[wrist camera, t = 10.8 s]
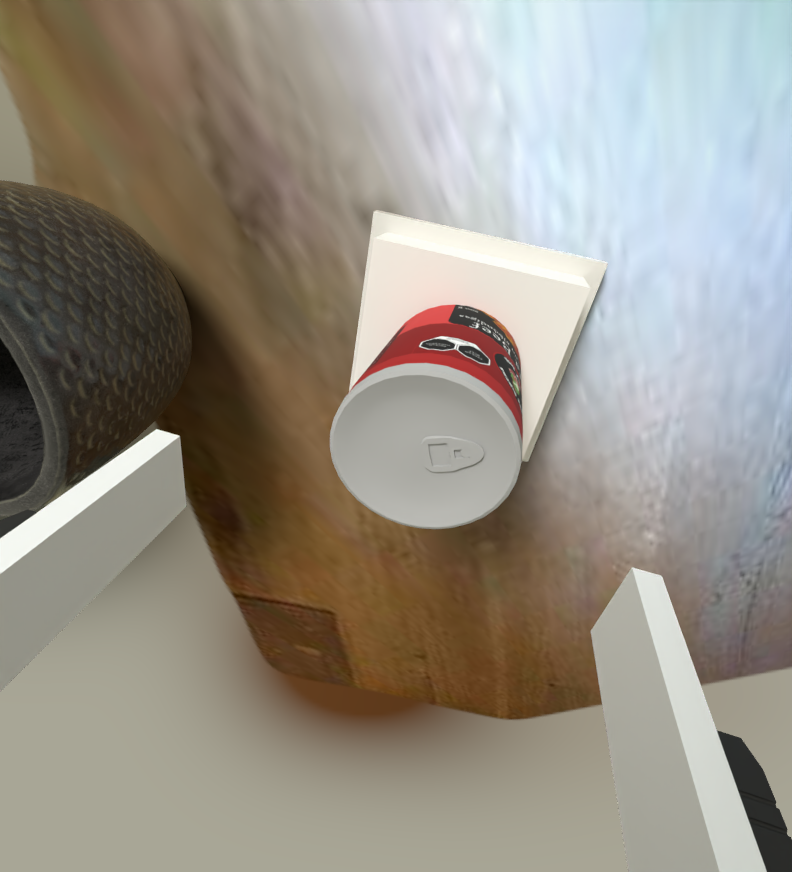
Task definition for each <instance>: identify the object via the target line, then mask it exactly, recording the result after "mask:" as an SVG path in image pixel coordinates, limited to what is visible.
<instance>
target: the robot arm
mask: <svg viewBox="0 0 792 872" xmlns="http://www.w3.org/2000/svg"><path fill="white" fill-rule="evenodd" d="M186 507H187V505H186V494H185V484H184V473H183V463H182V452H181V442H180V436H178V435H175V434H172V433H168V432H165V431H161V430H158V429H156V430H155V431H153V432H152V433H150V434H149V435H147V436H146V437H145V438H143V439H142V440H140V441H139V442H137V443H136V444H135V445H133V446H132V447H130V448H129V449H128V450H126V451H125V452H123V453H122V454H120V455H119V456H118V457H116V458H115V459H113V460H112V461H110V462H109V463H107V464H106V465H105V466H103V467H102V468H100V469H99V470H97V471H96V472H95V473H93V474H92V475H90V476H89V477H87V478H86V479H85V480H83V481H82V482H80V483H79V484H78V485H76V486H75V487H73V488H72V489H70V490H69V491H67V492H66V493H65V494H64V495H62V496H60V497H59V498H58V499H56V500H55V501H53V502H52V503H50V504H49V505H47V506H46V507H45V508H43V509H42V510H40V511H39V512H35V511H32V510H29V509H27V510H25V511H22V512H20V513H17V514H15V515H12V516H10V517H7V518H5V519H2V520H0V692H1V691H2V690H3V689H4V688H5V687H6V686H7V685H8V684H9V683H10V682H11V681H12V679H14V678H15V677H16V676H17V675H18V674H19V673H20V672H21V671H22V670H23V668H25V667H26V666H27V665H28V664H29V663H30V662H31V661H32V660H33V659H34V658H35V657H36V656H37V655H38V654H39V653H40V652H41V651H42V650H43V649H44V648H45V647H46V646H47V645H48V644H49V643H50V642H51V641H52V640H53V639H54V638H55V637H56V636H57V635H58V634H59V633H60V632H61V631H62V630H63V629H64V628H65V627H66V626H67V625H68V624H69V623H70V622H71V621H72V620H73V619H74V618H75V617H76V616H77V615H78V614H79V613H80V612H81V611H82V610H83V609H84V608H85V607H86V606H87V605H88V604H89V603H90V602H91V601H92V600H93V599H94V598H95V597H96V596H97V595H98V594H99V593H100V592H101V591H102V590H103V589H104V588H105V587H106V586H107V585H108V584H109V583H110V582H111V581H112V580H113V579H114V578H115V577H116V576H117V575H118V574H119V573H120V572H121V571H122V570H123V569H124V568H125V567H126V566H127V565H128V564H129V563H130V562H131V561H132V560H133V559H134V558H135V557H136V556H137V555H138V554H139V553H140V552H141V551H142V550H143V549H144V548H145V547H146V546H147V545H148V544H149V543H150V542H151V541H152V540H153V539H154V538H155V537H156V536H157V535H158V534H159V533H160V532H161V531H162V530H163V529H164V528H165V527H166V526H167V525H168V524H169V523H170V522H172V521H173V520H174V519H175V518H176V516H178V514H179V513H181V512H182V510H184V509H185V508H186ZM591 636H592V643H593V649H594V655H595V662H596V668H597V674H598V681H599V687H600V694H601V700H602V706H603V712H604V719H605V725H606V732H607V738H608V744H609V751H610V758H611V763H612V770H613V777H614V783H615V789H616V796H617V802H618V809H619V815H620V821H621V827H622V834H623V841H624V847H625V853H626V859H627V866H628V872H792V839H791V837H789V836H788V835H787V827H786V825H785V822H784V820H783V817H782V815H781V813H780V810H779V809H778V808H776V805H775V804H776V800H775V798H774V795H773V793H772V791H771V788H770V786H769V783H768V781H767V778H766V776H765V774H764V771H763V769H762V768H761V766H760V765H759V763H758V762H757V761H756V759H755V758H754V756H753V755H752V753H751V752H750V751H749V749H748V748H747V746H746V745H745V743H744V742H743V740H742V739H741V738H739V737H735V736H733V735H729V734H726V733H723V732H720V731H717V730H716V727H715V725H714V722H713V719H712V716H711V713H710V710H709V708H708V705H707V702H706V699H705V696H704V693H703V691H702V688H701V685H700V682H699V679H698V677H697V674H696V671H695V668H694V665H693V663H692V660H691V657H690V654H689V651H688V648H687V646H686V643H685V640H684V637H683V634H682V632H681V629H680V626H679V623H678V620H677V617H676V615H675V612H674V609H673V606H672V603H671V601H670V598H669V595H668V592H667V589H666V587H665V584H664V581H663V578H662V576H660V575H657V574H653V573H650V572H646V571H643V570H640V569H636V568H633V567H632V568H631V570H630V571H629V573H628V574H627V576H626V577H625V579H624V580H623V582H622V584H621V585H620V587H619V588H618V590H617V591H616V593H615V594H614V596H613V597H612V599H611V601H610V602H609V604H608V605H607V607H606V608H605V610H604V611H603V613H602V614H601V616H600V618H599V619H598V621H597V622H596V624H595V625H594V627H593V628H592V630H591Z"/></svg>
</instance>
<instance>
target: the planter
mask: <svg viewBox="0 0 792 872" xmlns="http://www.w3.org/2000/svg"><path fill="white" fill-rule="evenodd" d="M191 354H192V330H191V321H190V317H189V313H188V308H187V305H186V301H185V298H184V295H183V293H182V290H181V288H180V286H179V284H178V282H177V280H176V279H175V277H174V276H173V274H172V273H171V271H170V270H169V268H168V267H167V265H166V264H165V262H164V261H163V260H162V259H161V257H160V256H159V255H158V254H157V253H156V252H155V250H154V249H153V248H152V247H151V246H150V245H149V244H148V243H147V242H146V241H145V240H144V239H143V238H142V237H141V236H140V235H139V234H138V233H137V232H136V231H134V230H133V229H132V228H131V227H129V226H128V225H127V224H125V223H124V222H123V221H121V220H120V219H118V218H117V217H115V216H114V215H112V214H110V213H108V212H106V211H105V210H103V209H101V208H99V207H97V206H95V205H93V204H91V203H89V202H86V201H84V200H81V199H79V198H76V197H73V196H71V195H68V194H65V193H62V192H59V191H55V190H52V189H48V188H43V187H38V186H33V185H28V184H23V183H17V182H12V181H4V180H0V516H12V515H15V514H17V513H20V512H22V511H25V510H27V509H29V510H32V511H33V510H35V509H37V508H40V507H42V506H44V505H46V504H48V503H49V502H51V501H53V500H54V499H56V498H57V497H59V496H60V495H62V494H63V493H64V492H66V491H67V490H69V489H70V488H71V487H73V486H74V485H75V484H77V483H78V482H80V481H81V480H83V479H84V478H86V477H87V476H88V475H90V474H91V473H93V472H94V471H96V470H97V469H99V468H100V467H101V466H102V465H104V464H105V463H106V462H107V461H109V460H110V459H111V458H112V457H114V456H115V455H116V454H117V453H119V452H120V451H121V450H122V449H124V448H125V447H126V446H127V445H128V444H130V443H131V442H132V441H133V440H134V439H136V438H137V437H138V436H139V435H140V434H141V433H142V432H143V431H144V430H146V429H147V427H149V426H150V425H151V424H152V423H153V422H154V421H155V420H156V419H157V418H158V417H159V416H160V415H161V414H162V413H163V412H164V411H165V409H166V408H167V407H168V405H169V404H170V403H171V401H172V400H173V399H174V397H175V396H176V394H177V393H178V391H179V389H180V388H181V386H182V383H183V381H184V379H185V377H186V374H187V372H188V369H189V365H190V360H191Z"/></svg>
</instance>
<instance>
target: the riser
mask: <svg viewBox="0 0 792 872" xmlns="http://www.w3.org/2000/svg"><path fill="white" fill-rule="evenodd" d="M607 265H608V263H607V262H606V261H602V260H598V259H594V258H589V257H585V256H580V255H576V254H571V253H567V252H562V251H558V250H553V249H549V248H545V247H540V246H536V245H531V244H527V243H522V242H518V241H513V240H509V239H505V238H500V237H496V236H491V235H487V234H482V233H478V232H473V231H469V230H464V229H460V228H456V227H451V226H447V225H442V224H438V223H433V222H429V221H424V220H420V219H415V218H411V217H407V216H402V215H398V214H393V213H389V212H384V211H380V210H377V211H374V214H373V222H372V229H371V236H370V243H369V251H368V258H367V265H366V272H365V280H364V287H363V294H362V301H361V309H360V316H359V323H358V331H357V338H356V345H355V352H354V360H353V367H352V374H351V381H350V389H349V391H350V390H351V389H352V387H353V386H354V384H355V383H356V382H357V381H358V379H359V378H360V377H361V376H362V374H363V373H364V372H365V371H366V369H367V368H368V367H369V366H370V365H371V363H372V362H373V361H374V360H375V358H376V357H377V356H378V355H379V353H380V352H381V351H382V350H383V349H384V347H385V346H386V345H387V344H388V342H389V341H390V340H391V339H392V337H393V336H394V335H395V334H396V332H397V331H398V330H399V329H400V328H401V327H402V326H403V324H404V323H405V322H407V321H408V320H409V319H411V318H412V317H413V316H415V315H416V314H418V313H420V312H422V311H424V310H426V309H429V308H433V307H437V306H441V305H463V306H470V307H473V308H476V309H479V310H482V311H484V312H486V313H487V314H489V315H491V316H493V317H494V318H496V319H497V320H498V321H499V322H500V323H501V324H503V325H504V326H505V327H506V329H507V330H508V331H509V333H510V334H511V335H512V337H513V339H514V341H515V343H516V345H517V348H518V351H519V356H520V361H521V388H522V419H523V445H522V461H526V462H528V461H529V458H530V456H531V453H532V451H533V448H534V446H535V443H536V441H537V438H538V436H539V433H540V431H541V428H542V426H543V424H544V421H545V419H546V416H547V414H548V411H549V409H550V406H551V404H552V401H553V399H554V396H555V394H556V391H557V389H558V386H559V384H560V382H561V379H562V377H563V374H564V372H565V369H566V367H567V364H568V362H569V359H570V357H571V354H572V352H573V349H574V347H575V344H576V342H577V339H578V337H579V335H580V332H581V330H582V327H583V325H584V322H585V320H586V317H587V315H588V312H589V310H590V307H591V305H592V302H593V300H594V297H595V295H596V293H597V290H598V288H599V285H600V283H601V280H602V278H603V275H604V273H605V270H606V268H607ZM521 463H522V462H521Z"/></svg>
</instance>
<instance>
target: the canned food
mask: <svg viewBox="0 0 792 872" xmlns="http://www.w3.org/2000/svg"><path fill="white" fill-rule="evenodd" d="M522 445H523V419H522V388H521V361H520V356H519V351H518V348H517V345H516V343H515V341H514V339H513V337H512V335H511V334H510V333H509V331H508V330H507V329H506V327H505V326H504V325H503V324H501V323H500V322H499V321H498V320H497V319H496V318H494V317H493V316H491V315H489V314H487V313H486V312H484V311H482V310H479V309H476V308H473V307H470V306H463V305H441V306H437V307H433V308H429V309H426V310H424V311H422V312H420V313H418V314H416V315H415V316H413V317H412V318H411V319H409V320H408V321H407V322H405V323H404V324H403V326H402V327H401V328H400V329H399V330H398V331H397V332H396V334H395V335H394V336H393V337H392V339H391V340H390V341H389V342H388V344H387V345H386V346H385V347H384V349H383V350H382V351H381V352H380V353H379V355H378V356H377V357H376V358H375V360H374V361H373V362H372V363H371V365H370V366H369V367H368V368H367V369H366V371H365V372H364V373H363V374H362V376H361V377H360V378H359V379H358V381H357V382H356V383H355V384H354V386H353V387H352V389H351V390H350V391H349V393H348V394H347V395H346V396H345V398H344V400H343V402H342V403H341V405H340V407H339V409H338V411H337V413H336V415H335V417H334V420H333V424H332V428H331V431H330V451H331V456H332V461H333V464H334V466H335V469H336V471H337V473H338V476H339V477H340V479H341V480H342V482H343V483H344V485H345V486H346V488H347V489H348V490H349V491H350V492H351V493H352V495H353V496H354V497H355V498H356V499H357V500H358V501H359V502H361V503H362V504H363V505H365V506H366V507H367V508H369V509H370V510H371V511H373V512H375V513H377V514H378V515H380V516H382V517H384V518H386V519H388V520H391V521H394V522H396V523H399V524H402V525H406V526H411V527H416V528H425V529H444V528H454V527H458V526H462V525H466V524H469V523H472V522H474V521H476V520H478V519H481V518H483V517H485V516H486V515H488V514H489V513H490V512H492V511H493V510H495V509H496V508H498V506H499V505H500V504H501V503H502V502H503V501H504V500H505V499H506V498H507V497H508V496H509V494H510V492H511V490H512V489H513V487H514V485H515V483H516V481H517V477H518V474H519V470H520V465H521V462H522Z"/></svg>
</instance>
